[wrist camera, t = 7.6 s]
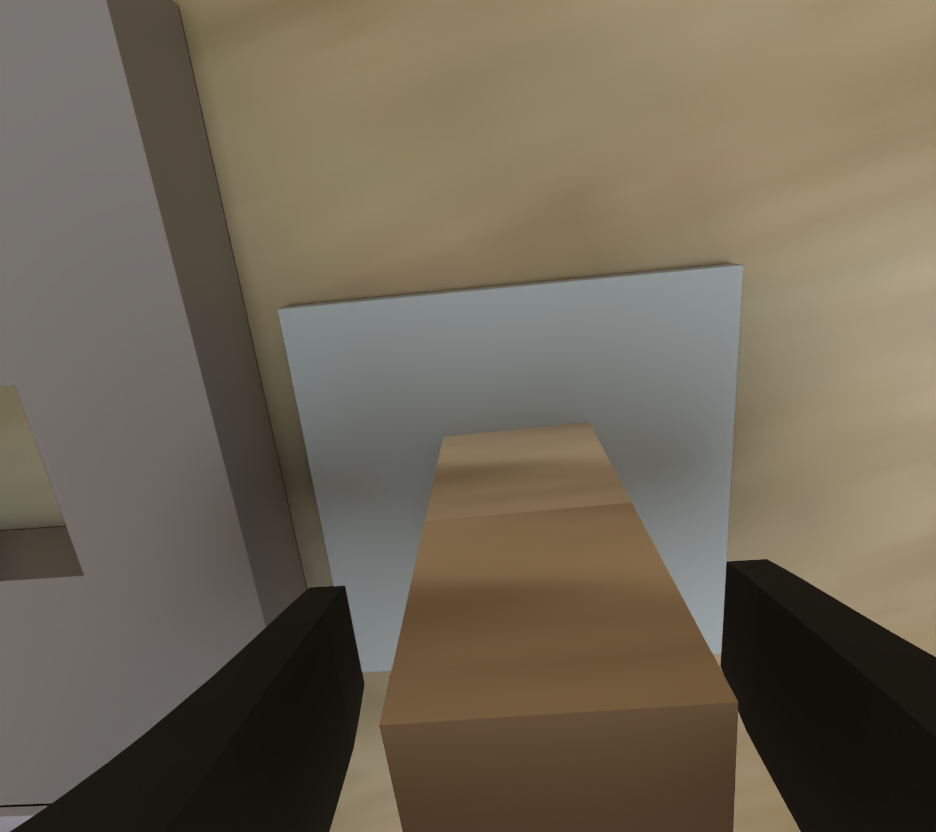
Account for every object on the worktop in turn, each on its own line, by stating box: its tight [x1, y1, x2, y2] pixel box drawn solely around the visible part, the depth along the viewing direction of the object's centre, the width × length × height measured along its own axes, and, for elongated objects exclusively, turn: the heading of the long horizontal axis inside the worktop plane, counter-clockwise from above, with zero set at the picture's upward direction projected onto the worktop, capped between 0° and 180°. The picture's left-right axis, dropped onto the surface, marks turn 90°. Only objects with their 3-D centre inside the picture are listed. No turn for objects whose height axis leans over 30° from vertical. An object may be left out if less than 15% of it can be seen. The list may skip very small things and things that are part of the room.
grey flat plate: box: [0, 0, 307, 805], centre depth 13 cm, size 18×12×2 cm, turn 6°
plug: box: [380, 422, 738, 832], centre depth 10 cm, size 3×3×8 cm
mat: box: [278, 263, 743, 672], centre depth 14 cm, size 10×10×1 cm
